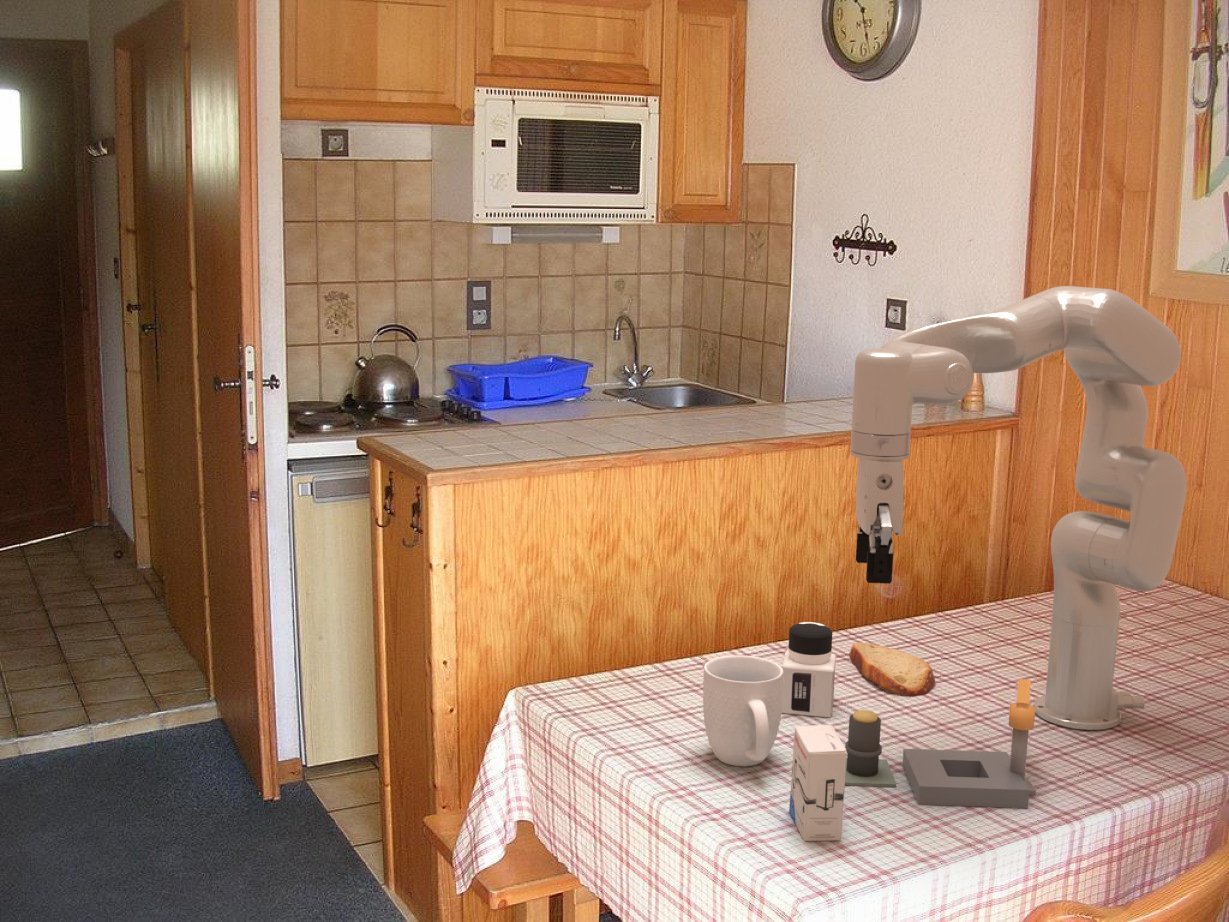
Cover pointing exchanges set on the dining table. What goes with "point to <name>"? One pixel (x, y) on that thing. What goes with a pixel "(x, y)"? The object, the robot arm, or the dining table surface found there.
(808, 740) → the ink box
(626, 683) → the dining table surface
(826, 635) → the container
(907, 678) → the bread slice
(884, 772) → the pad
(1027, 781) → the socket
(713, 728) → the mug
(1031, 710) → the clip
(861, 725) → the plug
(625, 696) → the dining table surface
